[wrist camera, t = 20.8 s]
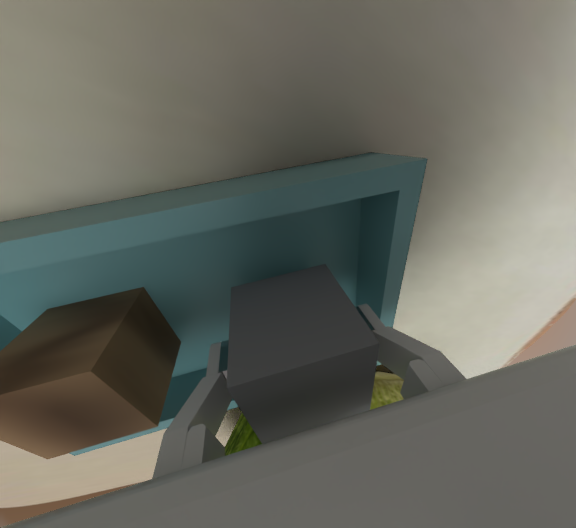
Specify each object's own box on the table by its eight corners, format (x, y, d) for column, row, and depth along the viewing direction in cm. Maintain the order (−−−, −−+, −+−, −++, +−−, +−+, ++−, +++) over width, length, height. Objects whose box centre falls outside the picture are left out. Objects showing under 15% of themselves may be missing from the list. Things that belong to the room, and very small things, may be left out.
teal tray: (371, 152, 11) (427, 158, 8) (359, 323, 19) (385, 363, 16) (-88, 238, 9) (-275, 296, 6) (106, 392, 17) (74, 455, 13)
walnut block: (143, 286, 12) (90, 371, 7) (181, 342, 14) (157, 426, 10) (47, 308, 11) (-69, 412, 7) (105, 361, 14) (47, 459, 10)
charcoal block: (325, 263, 11) (379, 342, 7) (329, 326, 14) (370, 410, 9) (230, 287, 10) (226, 388, 6) (254, 347, 13) (262, 444, 9)
